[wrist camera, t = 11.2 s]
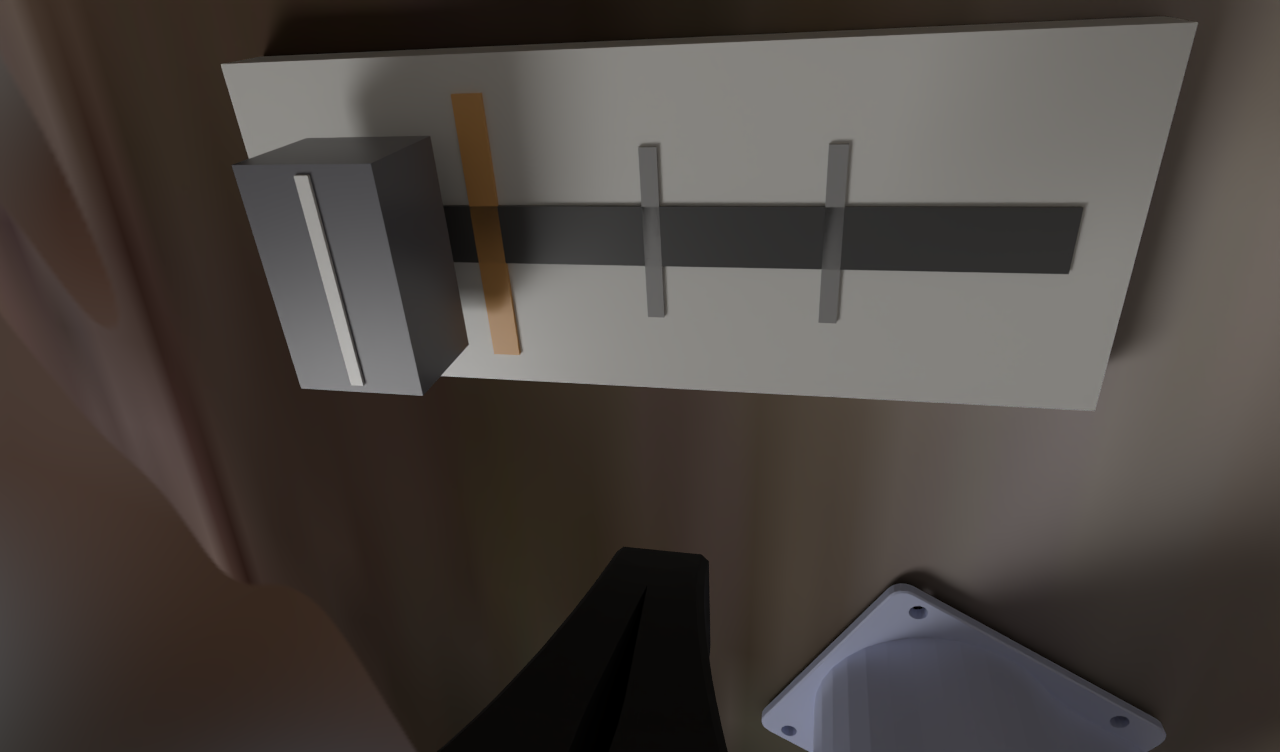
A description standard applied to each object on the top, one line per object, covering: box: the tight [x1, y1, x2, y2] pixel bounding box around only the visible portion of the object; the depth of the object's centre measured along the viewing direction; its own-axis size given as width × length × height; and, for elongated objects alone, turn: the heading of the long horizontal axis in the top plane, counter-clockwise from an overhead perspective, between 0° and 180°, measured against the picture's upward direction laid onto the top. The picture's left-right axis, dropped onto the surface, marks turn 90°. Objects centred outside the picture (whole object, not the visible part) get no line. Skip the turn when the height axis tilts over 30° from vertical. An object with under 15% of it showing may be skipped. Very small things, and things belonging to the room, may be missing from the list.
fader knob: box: [232, 136, 469, 396], centre depth 17 cm, size 3×5×4 cm, turn 4°
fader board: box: [221, 16, 1198, 411], centre depth 18 cm, size 20×8×2 cm, turn 94°
